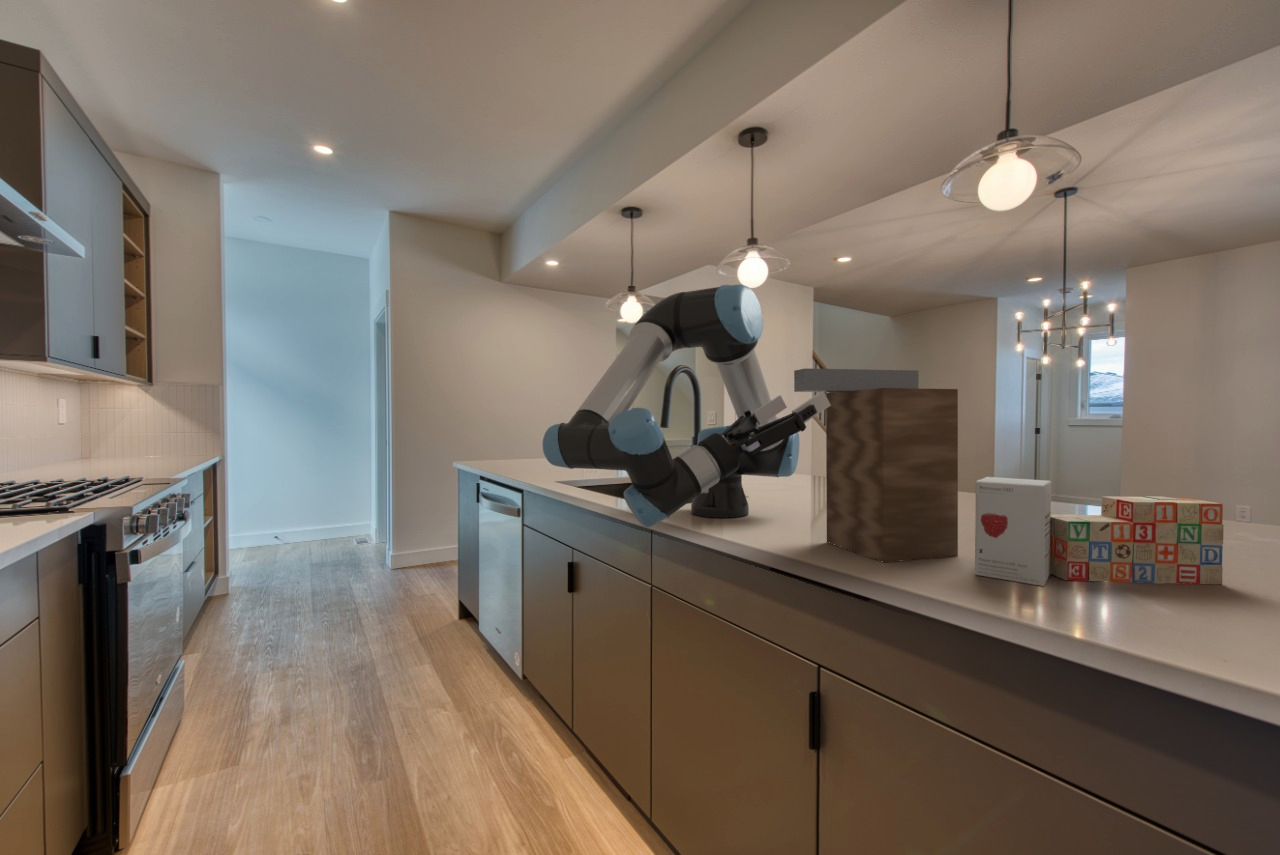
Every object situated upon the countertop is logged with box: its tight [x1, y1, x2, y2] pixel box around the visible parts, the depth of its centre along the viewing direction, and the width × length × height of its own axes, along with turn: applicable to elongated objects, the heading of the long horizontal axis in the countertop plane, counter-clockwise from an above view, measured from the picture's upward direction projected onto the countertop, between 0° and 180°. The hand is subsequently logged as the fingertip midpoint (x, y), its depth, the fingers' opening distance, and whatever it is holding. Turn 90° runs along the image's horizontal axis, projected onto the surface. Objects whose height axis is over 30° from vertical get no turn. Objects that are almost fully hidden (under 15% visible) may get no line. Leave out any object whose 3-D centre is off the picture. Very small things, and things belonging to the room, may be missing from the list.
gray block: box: [793, 368, 919, 393], centre depth 101 cm, size 4×24×4 cm, turn 103°
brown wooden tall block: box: [825, 388, 959, 563], centre depth 101 cm, size 16×16×34 cm
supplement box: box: [974, 476, 1052, 587], centre depth 83 cm, size 9×9×15 cm
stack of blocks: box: [1050, 495, 1224, 585], centre depth 82 cm, size 21×6×12 cm, turn 84°
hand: (803, 399), depth 95 cm, fingers open, 13 cm apart
